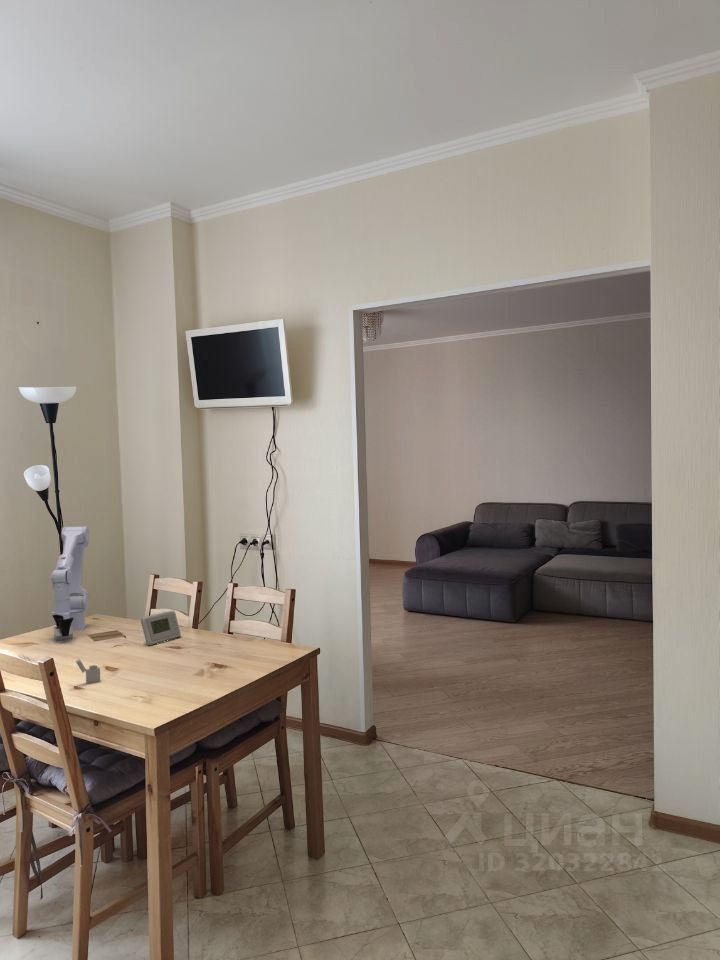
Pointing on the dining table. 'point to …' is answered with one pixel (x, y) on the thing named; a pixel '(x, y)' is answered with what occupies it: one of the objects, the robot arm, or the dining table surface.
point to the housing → (59, 636)
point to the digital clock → (160, 627)
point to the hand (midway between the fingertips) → (63, 634)
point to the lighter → (90, 672)
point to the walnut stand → (106, 635)
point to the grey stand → (63, 641)
